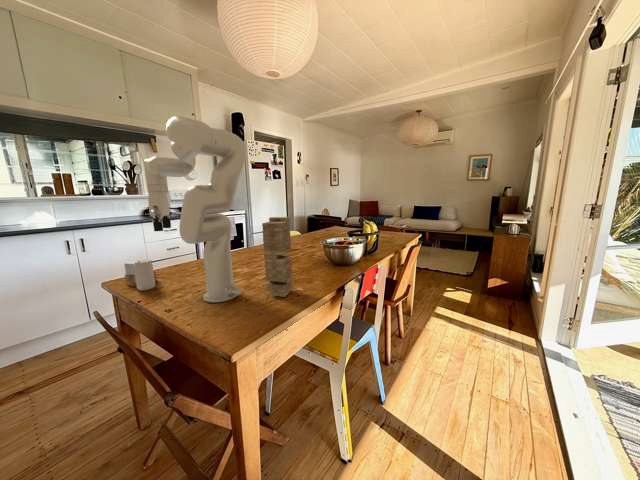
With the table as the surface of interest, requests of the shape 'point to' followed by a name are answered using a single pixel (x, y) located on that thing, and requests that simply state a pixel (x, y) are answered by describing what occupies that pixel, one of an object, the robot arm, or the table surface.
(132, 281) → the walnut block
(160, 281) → the table surface
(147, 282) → the beverage can
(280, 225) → the block tower
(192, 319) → the table surface
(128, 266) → the pale gray block
